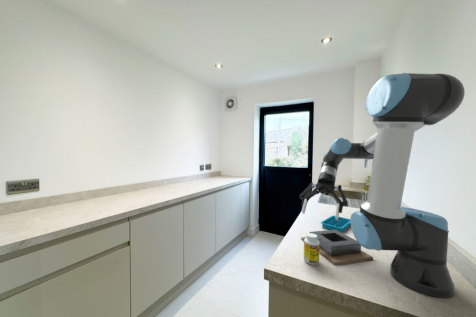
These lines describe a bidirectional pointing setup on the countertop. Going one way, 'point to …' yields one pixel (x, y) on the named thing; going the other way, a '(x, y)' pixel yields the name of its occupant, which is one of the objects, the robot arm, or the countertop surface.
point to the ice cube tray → (336, 223)
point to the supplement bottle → (311, 249)
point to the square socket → (337, 243)
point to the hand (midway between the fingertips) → (318, 215)
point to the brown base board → (344, 257)
